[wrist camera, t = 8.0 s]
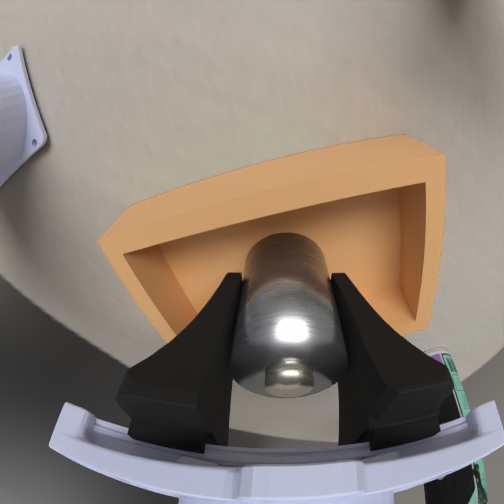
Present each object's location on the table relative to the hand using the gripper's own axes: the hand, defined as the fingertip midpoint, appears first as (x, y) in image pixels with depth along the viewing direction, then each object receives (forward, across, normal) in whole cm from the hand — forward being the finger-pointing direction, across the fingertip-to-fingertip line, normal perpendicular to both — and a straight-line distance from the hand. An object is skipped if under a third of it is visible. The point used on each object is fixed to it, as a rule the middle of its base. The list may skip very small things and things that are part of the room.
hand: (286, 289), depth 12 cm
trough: (+3, 0, 0) cm, 3 cm away
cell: (+2, 0, 0) cm, 2 cm away
